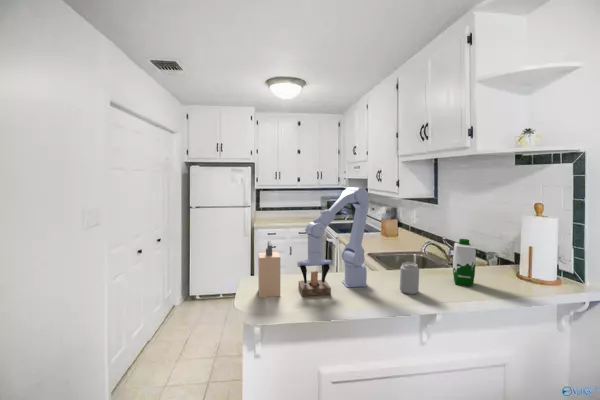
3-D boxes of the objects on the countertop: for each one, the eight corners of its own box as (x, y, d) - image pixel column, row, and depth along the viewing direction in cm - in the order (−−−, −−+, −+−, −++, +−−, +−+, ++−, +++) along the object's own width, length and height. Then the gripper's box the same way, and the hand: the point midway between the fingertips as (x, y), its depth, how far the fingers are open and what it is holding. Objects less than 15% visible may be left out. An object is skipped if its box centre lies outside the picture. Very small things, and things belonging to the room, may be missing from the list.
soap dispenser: (258, 289, 129) (258, 239, 127) (278, 288, 130) (278, 238, 129) (259, 301, 116) (259, 246, 115) (281, 300, 118) (281, 245, 116)
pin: (316, 288, 129) (317, 270, 128) (317, 291, 126) (318, 272, 126) (310, 288, 129) (310, 270, 128) (311, 291, 126) (311, 272, 125)
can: (409, 296, 122) (410, 267, 121) (395, 290, 129) (396, 263, 128) (422, 293, 126) (423, 265, 125) (408, 287, 132) (409, 260, 132)
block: (325, 286, 133) (325, 279, 133) (330, 295, 123) (330, 288, 123) (298, 287, 131) (298, 281, 131) (302, 296, 121) (302, 289, 121)
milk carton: (472, 281, 140) (474, 239, 139) (475, 288, 132) (477, 243, 130) (451, 279, 144) (453, 237, 142) (453, 285, 135) (455, 241, 134)
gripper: (328, 248, 131) (328, 278, 132) (296, 249, 129) (296, 279, 130) (333, 252, 124) (332, 284, 125) (298, 253, 122) (298, 285, 123)
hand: (314, 282), depth 127 cm, fingers open, 7 cm apart
